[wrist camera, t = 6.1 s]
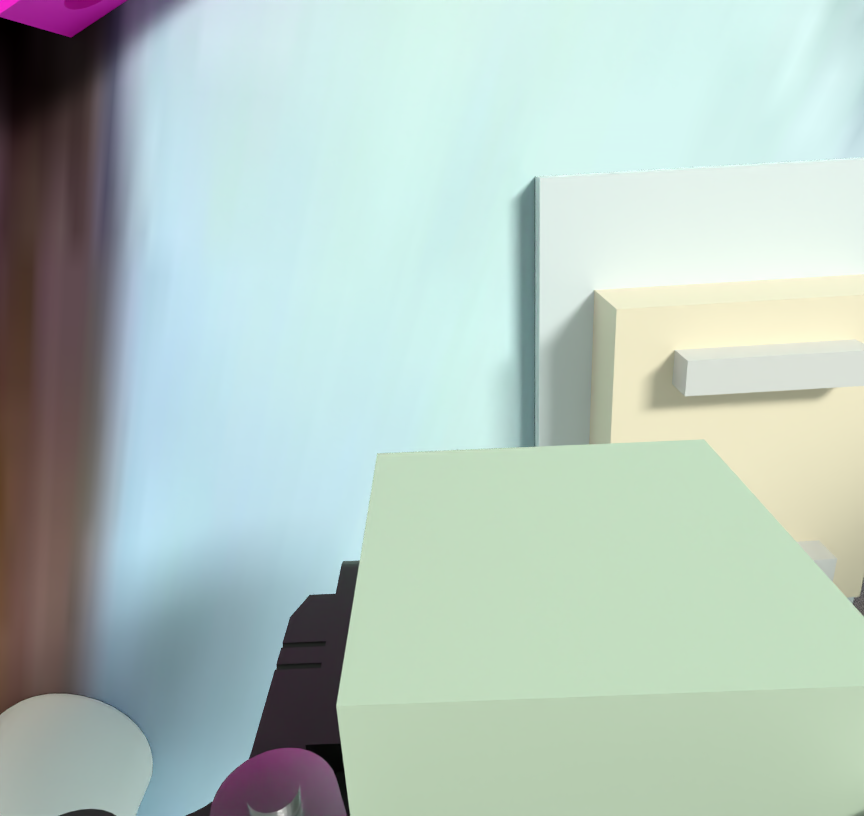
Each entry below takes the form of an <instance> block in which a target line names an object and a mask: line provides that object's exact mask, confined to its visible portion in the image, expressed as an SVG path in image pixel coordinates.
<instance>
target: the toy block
mask: <svg viewBox="0 0 864 816" xmlns="http://www.w3.org/2000/svg"><path fill="white" fill-rule="evenodd" d="M125 1H127V0H0V17H2V18H5V19H9V20H12V21H16V22H19V23H23V24H26V25H30V26H33V27H36V28H40V29H43V30H47V31H50V32H54V33H57V34H61V35H64V36H67V37H73V36H74V35H76V34H77V33H79V32H80V31H82V30H83V29H85V28H86V27H88V26H89V25H91V24H92V23H94V22H95V21H97V20H98V19H100V18H101V17H103V16H104V15H106V14H107V13H109V12H110V11H112V10H113V9H115V8H116V7H118V6H119V5H121V4H122V3H124V2H125Z"/></svg>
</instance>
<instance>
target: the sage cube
mask: <svg viewBox="0 0 864 816" xmlns="http://www.w3.org/2000/svg"><path fill="white" fill-rule="evenodd" d="M336 708H337V716H338V724H339V732H340V740H341V748H342V755H343V763H344V771H345V779H346V787H347V794H348V802H349V810H350V816H864V616H863V615H862V614H861V613H860V612H859V611H858V610H857V609H856V607H855V606H854V605H853V604H852V603H851V602H850V601H849V600H848V599H847V597H846V596H845V595H844V594H843V593H842V592H841V591H840V590H839V589H838V587H837V586H836V585H835V584H834V583H833V582H832V581H831V580H830V579H829V577H828V576H827V575H826V574H825V573H824V572H823V571H822V570H821V569H820V567H819V566H818V565H817V564H816V563H815V562H814V561H813V560H812V559H811V557H810V556H809V555H808V554H807V553H806V552H805V551H804V550H803V549H802V547H801V546H800V545H799V544H798V543H797V542H796V541H795V540H794V539H793V537H792V536H791V535H790V534H789V533H788V532H787V531H786V530H785V529H784V527H783V526H782V525H781V524H780V523H779V522H778V521H777V520H776V519H775V517H774V516H773V515H772V514H771V513H770V512H769V511H768V510H767V509H766V507H765V506H764V505H763V504H762V503H761V502H760V501H759V500H758V499H757V497H756V496H755V495H754V494H753V493H752V492H751V491H750V490H749V489H748V487H747V486H746V485H745V484H744V483H743V482H742V481H741V480H740V479H739V477H738V476H737V475H736V474H735V473H734V472H733V471H732V470H731V469H730V467H729V466H728V465H727V464H726V463H725V462H724V461H723V460H722V459H721V457H720V456H719V455H718V454H717V453H716V452H715V451H714V450H713V449H712V447H711V446H710V445H709V444H708V443H707V442H706V441H705V440H704V439H702V440H679V441H656V442H633V443H609V444H586V445H563V446H540V447H517V448H494V449H471V450H448V451H425V452H402V453H378V454H377V458H376V464H375V470H374V477H373V483H372V489H371V495H370V501H369V507H368V514H367V520H366V526H365V532H364V538H363V544H362V551H361V557H360V563H359V569H358V575H357V581H356V587H355V594H354V600H353V606H352V612H351V618H350V624H349V631H348V637H347V643H346V649H345V655H344V661H343V668H342V674H341V680H340V686H339V692H338V698H337V704H336Z"/></svg>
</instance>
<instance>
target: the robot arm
mask: <svg viewBox="0 0 864 816" xmlns="http://www.w3.org/2000/svg"><path fill="white" fill-rule="evenodd" d="M359 563H360V561H343V563H342V566H341V571H340V575H339V580H338V585H337V590H336V594H321V595H309V596H308V597H307V599H306V600H305V601H304V602H303V603H302V604H301V605H300V607H299V608H298V609H297V610H296V611H295V612H294V613H293V615H292V616H291V617H290V619H289V623H288V626H287V630H286V633H285V637H284V640H283V648H281V651H280V654H279V658H278V661H277V669H276V670H275V672H274V675H273V679H272V682H271V686H270V689H269V692H268V696H267V699H266V703H265V706H264V710H263V713H262V717H261V720H260V724H259V727H258V731H257V734H256V738H255V741H254V745H253V748H252V752H251V755H250V757H249V760H247V761H245V762H244V763H243V764H241V765H240V766H238V767H237V768H236V769H235V770H234V771H233V772H232V773H231V774H230V775H229V776H228V777H227V778H226V779H225V781H224V782H223V783H222V784H221V786H220V788H219V789H218V791H217V793H216V795H215V797H214V800H213V802H211V803H210V804H208V805H207V806H205V807H203V808H201V809H199V810H197V811H195V812H193V813H191V814H188V815H186V816H350V810H349V802H348V794H347V787H346V779H345V771H344V763H343V755H342V748H341V740H340V732H339V724H338V716H337V708H336V704H337V698H338V692H339V686H340V680H341V674H342V668H343V661H344V655H345V649H346V643H347V637H348V631H349V624H350V618H351V612H352V606H353V600H354V594H355V587H356V581H357V575H358V569H359ZM59 816H116V815H114V814H113V813H111V812H108V811H105V810H100V809H81V810H76V811H71V812H68V813H65V814H62V815H59Z"/></svg>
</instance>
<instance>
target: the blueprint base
mask: <svg viewBox="0 0 864 816" xmlns="http://www.w3.org/2000/svg"><path fill="white" fill-rule="evenodd" d="M702 439H704V440H705V441H706V442H707V443H708V444H709V445H710V446H711V447H712V449H713V450H714V451H715V452H716V453H717V454H718V455H719V456H720V457H721V459H722V460H723V461H724V462H725V463H726V464H727V465H728V466H729V467H730V469H731V470H732V471H733V472H734V473H735V474H736V475H737V476H738V477H739V479H740V480H741V481H742V482H743V483H744V484H745V485H746V486H747V487H748V489H749V490H750V491H751V492H752V493H753V494H754V495H755V496H756V497H757V499H758V500H759V501H760V502H761V503H762V504H763V505H764V506H765V507H766V509H767V510H768V511H769V512H770V513H771V514H772V515H773V516H774V517H775V519H776V520H777V521H778V522H779V523H780V524H781V525H782V526H783V527H784V529H785V530H786V531H787V532H788V533H789V534H790V535H791V536H792V537H793V539H794V540H795V541H796V542H797V543H798V544H799V545H800V546H801V547H802V549H803V550H804V551H805V552H806V553H807V554H808V555H809V556H810V557H811V559H812V560H813V561H814V562H815V563H816V564H817V565H818V566H819V567H820V569H821V570H822V571H823V572H824V573H825V574H826V575H827V576H828V577H829V579H830V580H831V581H832V582H833V583H834V584H835V585H836V586H837V587H838V589H839V590H840V591H841V592H842V593H843V594H844V595H845V596H846V597H847V599H848V600H849V601H850V602H851V603H852V604H853V600H854V597H860V592H861V587H862V583H863V578H864V157H858V158H841V159H824V160H807V161H790V162H773V163H756V164H739V165H722V166H705V167H688V168H671V169H654V170H637V171H620V172H603V173H586V174H569V175H552V176H535V447H540V446H563V445H586V444H609V443H633V442H656V441H679V440H702Z"/></svg>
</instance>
